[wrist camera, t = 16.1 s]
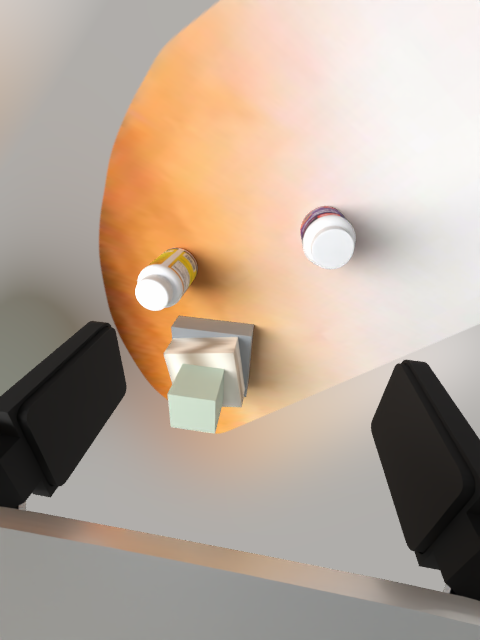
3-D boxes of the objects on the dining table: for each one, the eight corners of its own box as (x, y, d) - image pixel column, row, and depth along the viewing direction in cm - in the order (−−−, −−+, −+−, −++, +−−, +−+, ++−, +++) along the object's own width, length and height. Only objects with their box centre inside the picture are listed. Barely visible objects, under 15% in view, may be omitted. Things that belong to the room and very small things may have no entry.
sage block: (224, 369, 40) (215, 401, 34) (223, 400, 43) (214, 433, 37) (182, 363, 40) (167, 394, 35) (184, 394, 43) (170, 426, 38)
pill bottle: (333, 196, 34) (348, 208, 25) (351, 235, 36) (371, 259, 27) (292, 221, 36) (294, 240, 27) (311, 257, 38) (319, 285, 29)
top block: (237, 336, 41) (233, 353, 38) (244, 388, 46) (241, 407, 43) (173, 338, 43) (163, 353, 40) (186, 387, 48) (178, 405, 45)
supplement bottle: (157, 274, 42) (123, 305, 33) (166, 239, 39) (132, 264, 30) (192, 289, 42) (168, 324, 34) (204, 256, 40) (181, 285, 31)
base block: (254, 322, 45) (251, 336, 41) (248, 380, 51) (246, 396, 47) (179, 314, 46) (171, 326, 42) (183, 371, 52) (176, 386, 48)
